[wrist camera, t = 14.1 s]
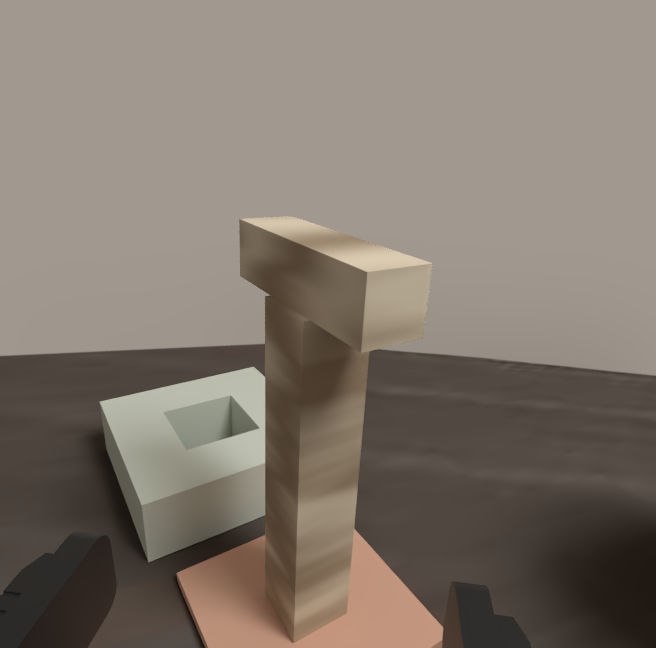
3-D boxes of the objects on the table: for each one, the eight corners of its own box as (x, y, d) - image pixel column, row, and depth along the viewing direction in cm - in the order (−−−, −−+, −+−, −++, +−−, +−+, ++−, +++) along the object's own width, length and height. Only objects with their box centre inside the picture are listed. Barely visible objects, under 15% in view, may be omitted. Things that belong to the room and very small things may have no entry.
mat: (177, 581, 26) (176, 573, 26) (333, 513, 31) (333, 505, 31) (258, 776, 18) (258, 767, 18) (447, 643, 24) (449, 634, 23)
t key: (241, 553, 27) (233, 219, 21) (288, 532, 29) (296, 215, 22) (328, 703, 20) (360, 273, 14) (385, 666, 22) (438, 262, 15)
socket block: (106, 448, 36) (99, 401, 35) (254, 408, 43) (253, 366, 41) (148, 562, 27) (141, 505, 26) (329, 489, 33) (332, 439, 32)
